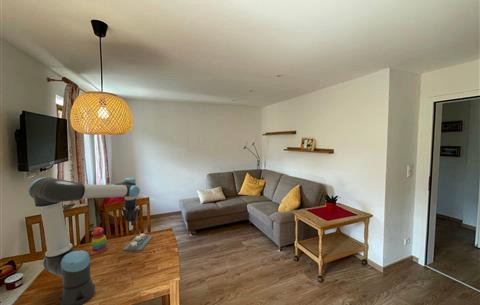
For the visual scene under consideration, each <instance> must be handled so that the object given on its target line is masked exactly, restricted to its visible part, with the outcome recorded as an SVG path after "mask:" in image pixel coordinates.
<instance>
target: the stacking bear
mask: <svg viewBox="0 0 480 305" xmlns="http://www.w3.org/2000/svg"><path fill="white" fill-rule="evenodd" d="M91 236H92V238H91V242H90V243H91V244H90V245H91V251H90V252H89V256H95V255H99V254H102V253H104V252H105V251H107V249H108V248H107V236H106V235H105V234H104V228H103V227H100V226H97V227H95V228H94V230H93V231H92V232H91Z"/></svg>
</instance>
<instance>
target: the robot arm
mask: <svg viewBox="0 0 480 305" xmlns="http://www.w3.org/2000/svg"><path fill="white" fill-rule="evenodd" d="M136 181H137V180H136V178H134V177H126V178H124V180H123V182H118V183H112V184H93V183H92V184H90V183H89V184H88V183H86V184H85V183H83V182H81V181H80V182H79V181H72V180H71V181H70V180H65V179H61V178H55V177H50V176H46V177H40V178H36V179H35V180H33V181H32V182H31V183H30V184H29V186H28V188H27V192H28V195H29V196H30V197H31V198H32V199H33V201H34V206H35V207H36V208H38V209H39V210H40V215H41V220H42V225H43V229H44V230H43V231H44V235H45V236H44V237H45V241H46V245H47V246H46V247H47V250H46V252H45V253H44V257H43V260H42V266H43V268H44V270H45V271H47V272H48V273H50V274H53V275H56V276H58V277H60V278H62V290H61V291H62V292H61V294H60V297H59V305H83V304H85V303H86V302H88V301H89V300H90V299H92V298H93V297H94V295H95V294H96V285H95V283H94V282H93V279H92V274H91V273H92V272H91V258H90V253H89V252H87V251H86V250H81V249H80V250H74V246H73V244H72V243H71V242H69V239H68V233H67V232H68V231H67V227H66V220H65V215H64V210H63V204H62V203H65V202H75V201H77V202H78V201H81V200H83V199H100V198H120V197H121V198H122V197H123V198H124V206H123V207H121V211H122V213H123V218H124V221H127V226H128V229H129V231H132V230H133V229H134V225H135V221H137V218H138V215H139V210H140V209H141V208H140V207H138V206H137V197H138V196H139V194H140V193H141V192H140V191H141V190H140V187H139V186H138V185H136V184H137V182H136ZM91 297H92V298H91Z"/></svg>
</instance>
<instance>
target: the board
mask: <svg viewBox="0 0 480 305" xmlns="http://www.w3.org/2000/svg"><path fill="white" fill-rule="evenodd" d="M153 238H154V237H153V235H151V236H149V234H145V238H141V241H139V242H137V246H136V247H131V243H132V242H135V241H136V236H135V237H134V238H133V239H132V240H131V241H130V242H128V244H126V245H125V246H124V247H123V248H122V252H142V251H143V250H144V248H145V247H146V246H147V245H148V244H149V243H150V242H151V240H153Z"/></svg>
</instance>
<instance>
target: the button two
mask: <svg viewBox="0 0 480 305" xmlns="http://www.w3.org/2000/svg"><path fill="white" fill-rule="evenodd" d="M135 237H136V242H139V241H141V236H140V235H137V236H135Z"/></svg>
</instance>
